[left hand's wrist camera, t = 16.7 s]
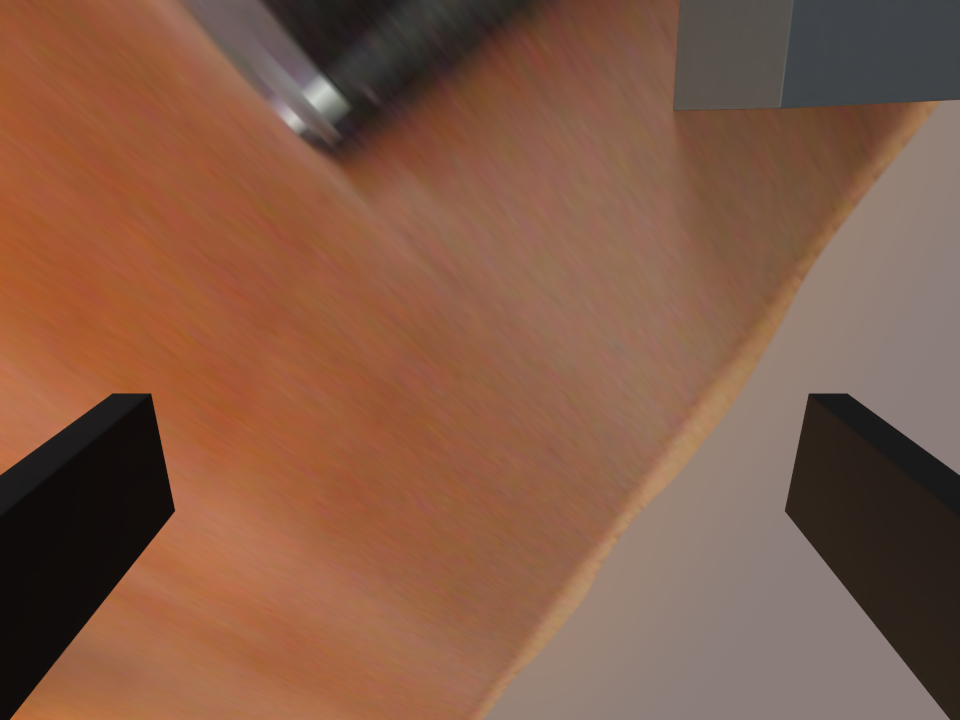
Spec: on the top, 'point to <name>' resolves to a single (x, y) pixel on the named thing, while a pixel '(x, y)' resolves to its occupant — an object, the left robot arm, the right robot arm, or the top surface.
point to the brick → (815, 53)
